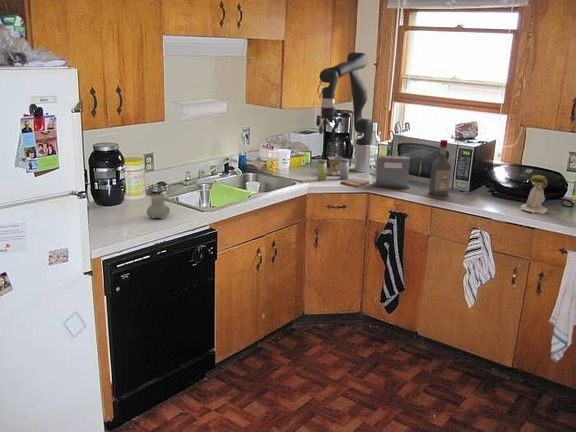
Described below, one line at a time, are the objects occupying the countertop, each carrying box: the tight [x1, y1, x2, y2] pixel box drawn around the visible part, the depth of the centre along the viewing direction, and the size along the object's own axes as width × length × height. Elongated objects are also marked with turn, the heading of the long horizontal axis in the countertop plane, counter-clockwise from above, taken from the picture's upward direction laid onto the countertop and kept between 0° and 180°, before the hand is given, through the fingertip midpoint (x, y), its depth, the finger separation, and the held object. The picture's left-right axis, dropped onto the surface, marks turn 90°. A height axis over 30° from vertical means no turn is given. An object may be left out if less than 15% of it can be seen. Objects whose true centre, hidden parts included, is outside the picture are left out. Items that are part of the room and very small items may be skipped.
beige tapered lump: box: [520, 174, 548, 215], centre depth 305 cm, size 12×13×18 cm
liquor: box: [428, 139, 452, 196], centre depth 331 cm, size 9×9×30 cm
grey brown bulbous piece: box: [146, 194, 171, 219], centre depth 281 cm, size 11×8×10 cm
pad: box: [340, 177, 370, 188], centre depth 351 cm, size 12×12×1 cm
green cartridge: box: [317, 159, 328, 182], centre depth 355 cm, size 5×5×12 cm
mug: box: [326, 156, 344, 177], centre depth 369 cm, size 12×9×11 cm
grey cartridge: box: [339, 158, 350, 181], centre depth 360 cm, size 5×5×12 cm
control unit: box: [373, 154, 411, 189], centre depth 346 cm, size 9×20×17 cm, turn 84°
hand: (326, 134), depth 342 cm, fingers open, 8 cm apart
